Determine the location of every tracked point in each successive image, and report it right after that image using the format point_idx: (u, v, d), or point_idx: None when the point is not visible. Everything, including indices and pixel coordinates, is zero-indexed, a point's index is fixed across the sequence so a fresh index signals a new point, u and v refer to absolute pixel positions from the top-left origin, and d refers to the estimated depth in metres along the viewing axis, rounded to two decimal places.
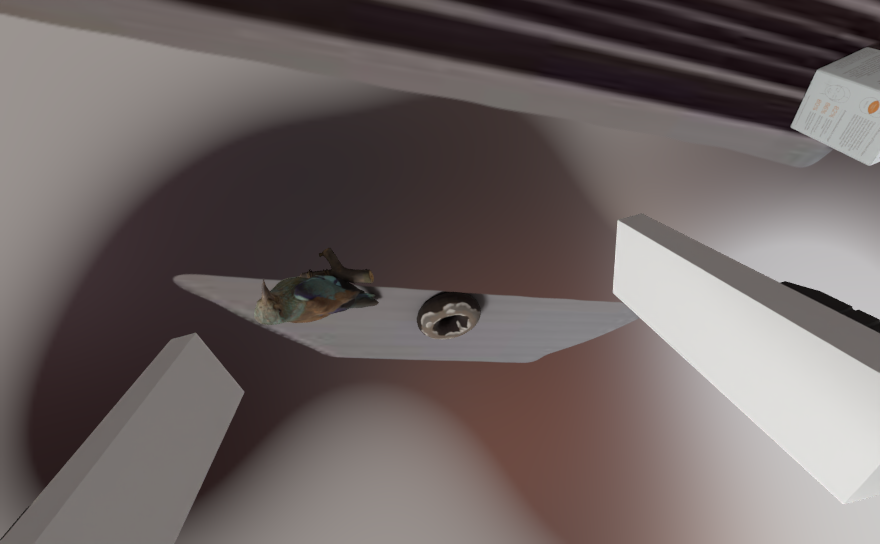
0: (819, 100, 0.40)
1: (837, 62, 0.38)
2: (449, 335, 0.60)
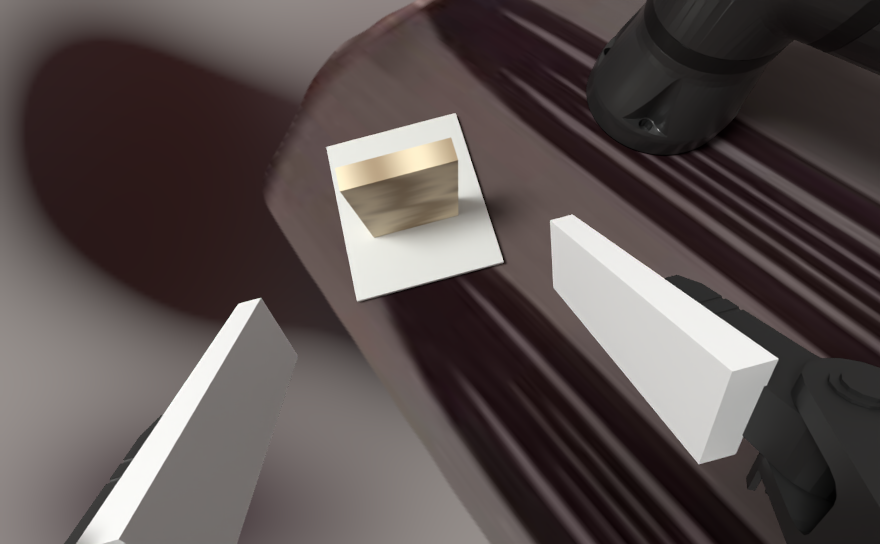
0: None
1: None
2: None
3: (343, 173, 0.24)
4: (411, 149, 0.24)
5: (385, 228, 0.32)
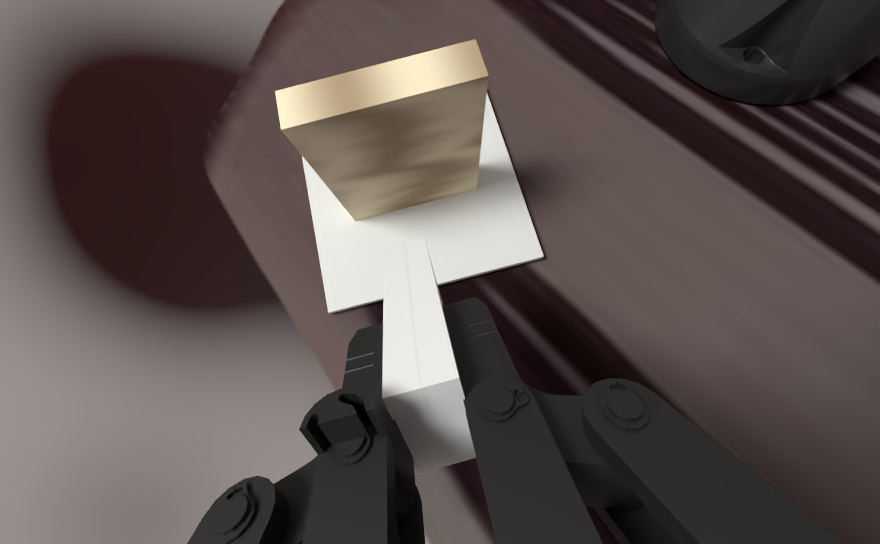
0: None
1: None
2: None
3: (289, 99, 0.14)
4: (407, 59, 0.14)
5: (370, 206, 0.22)
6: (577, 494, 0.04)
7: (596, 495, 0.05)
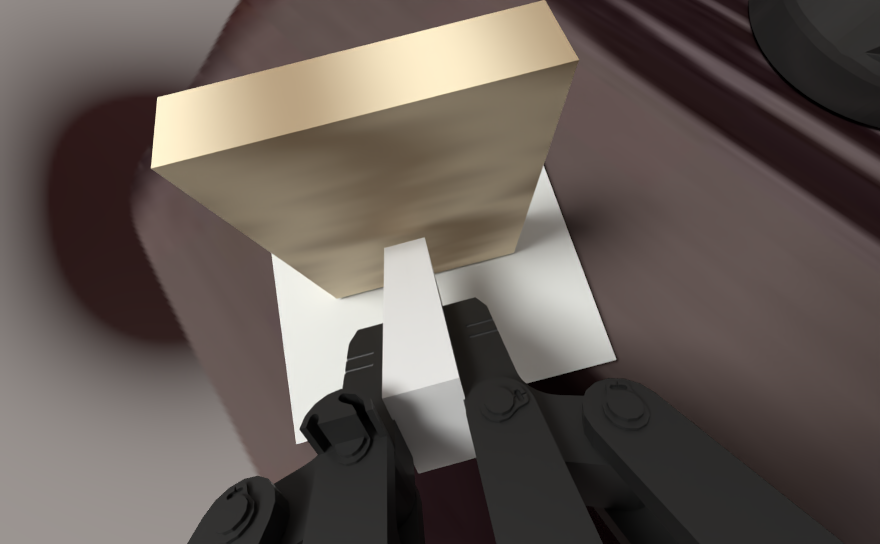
0: None
1: None
2: None
3: (179, 112, 0.07)
4: (413, 37, 0.07)
5: (357, 281, 0.15)
6: (577, 494, 0.04)
7: (596, 495, 0.05)
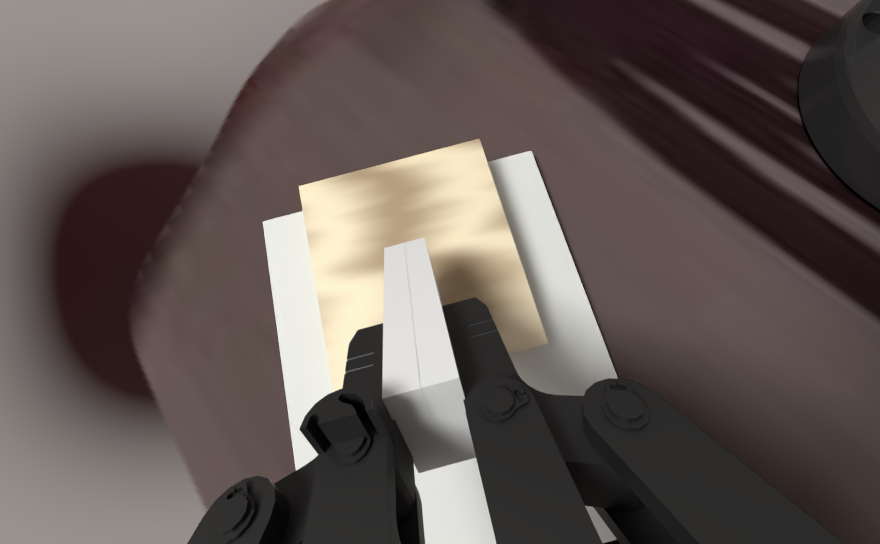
0: None
1: None
2: None
3: None
4: None
5: None
6: (577, 494, 0.04)
7: (596, 495, 0.05)
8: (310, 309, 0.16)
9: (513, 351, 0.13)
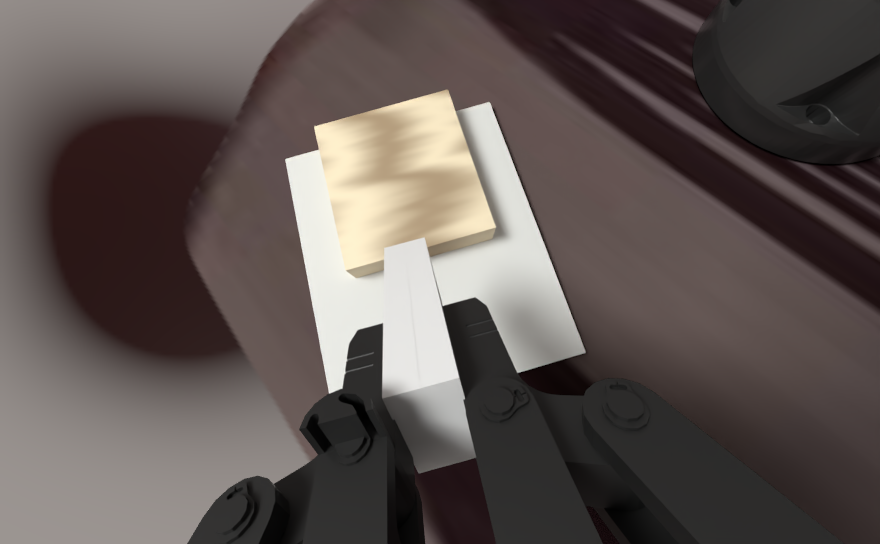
0: None
1: None
2: None
3: None
4: None
5: (366, 239, 0.19)
6: (577, 494, 0.04)
7: (596, 495, 0.05)
8: (324, 220, 0.22)
9: (471, 233, 0.19)
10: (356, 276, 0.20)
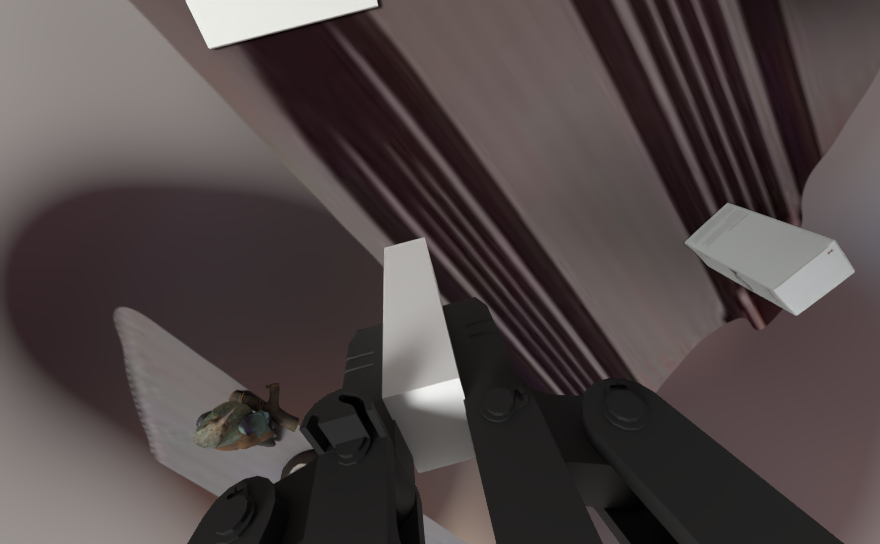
0: None
1: None
2: None
3: None
4: None
5: None
6: (577, 494, 0.04)
7: (596, 495, 0.05)
8: None
9: None
10: None
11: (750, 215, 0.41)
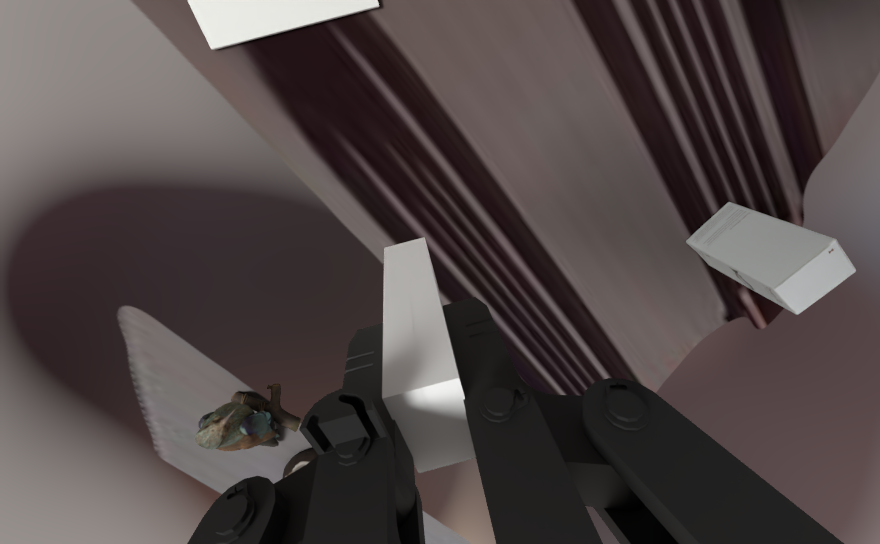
0: None
1: None
2: None
3: None
4: None
5: None
6: (577, 494, 0.04)
7: (596, 495, 0.05)
8: None
9: None
10: None
11: (751, 214, 0.41)
